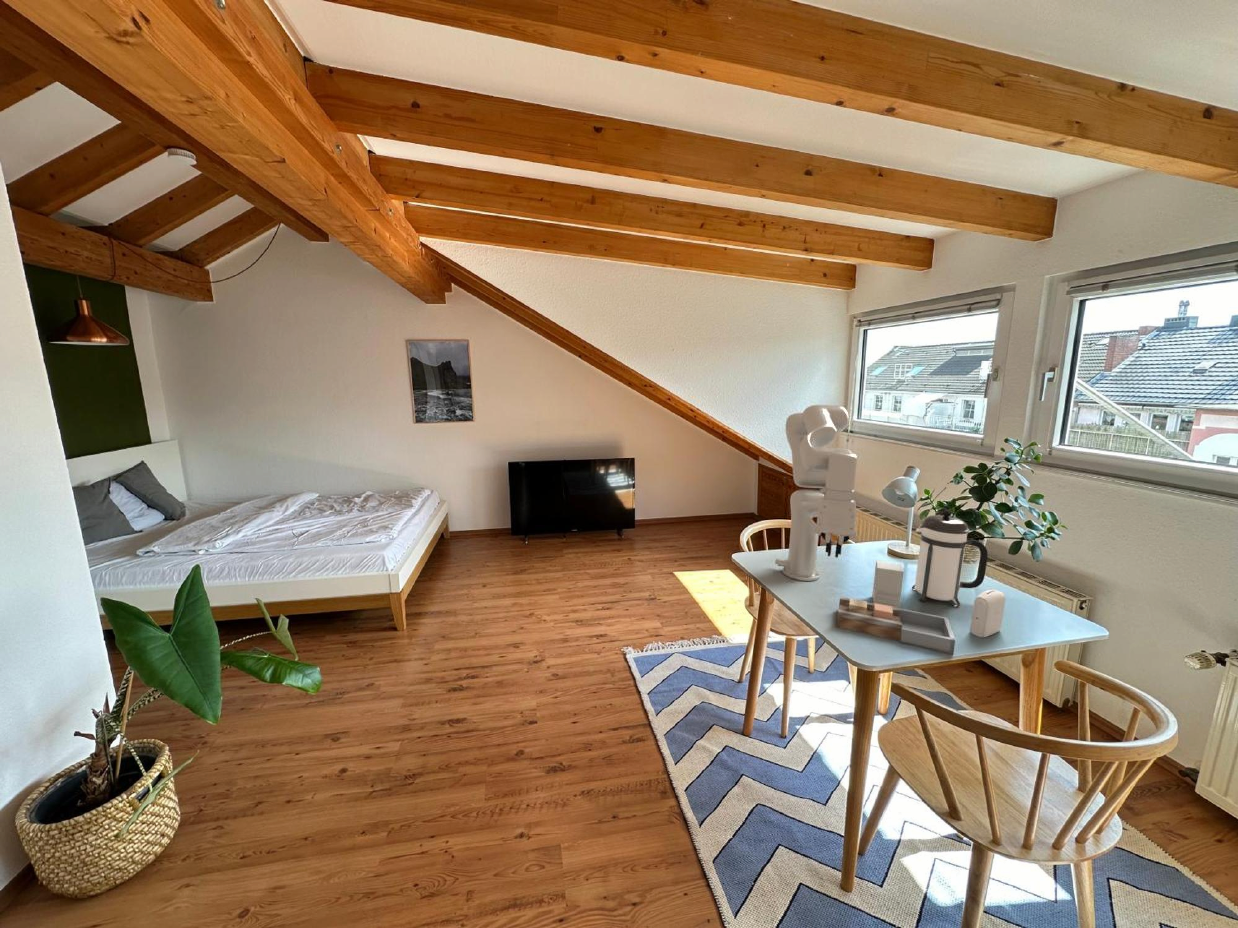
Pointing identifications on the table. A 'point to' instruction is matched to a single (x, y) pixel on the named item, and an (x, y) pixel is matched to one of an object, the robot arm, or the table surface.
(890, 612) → the salmon orange block
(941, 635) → the tray
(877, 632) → the slot block
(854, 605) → the beige block
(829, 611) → the table surface
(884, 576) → the supplement box
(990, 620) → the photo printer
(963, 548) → the coffee press
